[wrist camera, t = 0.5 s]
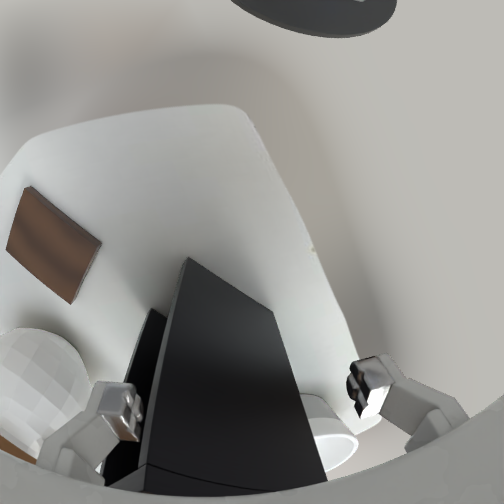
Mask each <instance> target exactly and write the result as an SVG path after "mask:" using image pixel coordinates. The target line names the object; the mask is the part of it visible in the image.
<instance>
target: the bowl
mask: <svg viewBox="0 0 504 504" xmlns="http://www.w3.org/2000/svg"><path fill="white" fill-rule="evenodd" d="M300 396H301V400H302V403H303V406H304V409H305V412H306V415H307V418H308V421H309V424H310V427H311V430H312V433H313V436H314V440H315V443H316V446H317V449H318V452H319V455H320V458H321V461H322V464H323V467H324V470H325V472H327V471H329V470H331V469H333V468H335V467H337V466H339V465H340V464H342V463H343V462H345V461H346V460H347V459H349V458H350V457H351V456H352V455H353V454H354V452H355V451H356V449H357V447H358V439H357V438H356V436H355V435H354V434H353V433H352V432H351V431H350V430H349V428H348V427H347V426H346V425H345V424H344V423H343V422H342V421H341V419H340V418H339V417H338V416H337V415H336V414H335V412H334V411H333V410H332V409H331V408H330V407H329V405H328V404H327V403H326V402H325V401H324V400H323V399H322V398H320V397H318V396H315V395H310V394H300Z"/></svg>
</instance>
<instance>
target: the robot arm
mask: <svg viewBox="0 0 504 504" xmlns="http://www.w3.org/2000/svg"><path fill="white" fill-rule="evenodd" d="M355 1H359V2H363V1H365V0H355ZM350 371H351V373H350V375H349V376H348V377H347V381H346V387H347V392H348V395H349V397H350V398H351V399H352V400H354V401H356V402H355V405H354V407H355V409H356V411H357V414H358V416H359V418H360V419H361V418H365V417H368V416H372V415H375V414H378V413H379V414H380V415H381V416H382V417H384V418H385V419H387V420H388V421H390V422H391V423H393V424H394V425H396V426H397V427H399V428H400V429H402V430H403V431H405V432H406V433H408V434H409V435H411V438H410V439H409V441H408V442H407V443H406V445H405V450H406V452H407V454H404V455H402V456H400V457H398V458H395V459H393V460H390V461H388V462H386V463H383V464H380V465H378V466H375V467H372V468H369V469H367V470H364V471H361V472H358V473H355V474H351V475H348V476H345V477H341V478H338V479H334V480H331V481H327V482H323V483H319V484H314V485H310V486H305V487H300V488H295V489H290V490H284V491H277V492H270V493H262V494H253V495H242V496H225V497H183V496H167V495H156V494H147V493H139V492H132V491H126V490H120V489H115V488H110V487H105V486H104V483H105V479H104V478H103V477H102V476H101V475H100V474H99V473H98V472H96V471H95V469H96V468H97V467H98V465H99V464H100V463H101V462H102V461H103V460H104V459H105V458H106V456H107V455H108V454H109V453H110V452H111V451H112V449H113V448H114V447H115V446H116V445H117V444H118V443H119V440H124V441H136V442H139V440H140V434H141V429H142V428H141V427H140V425H139V423H140V422H141V421H142V420H143V417H144V405H143V401H142V399H141V397H140V396H138V395H137V394H136V391H137V389H136V387H135V385H134V384H131V383H118V382H105V381H97V382H96V383H95V385H94V387H93V390H92V393H91V395H90V398H89V400H88V403H87V406H86V409H85V411H81V412H80V413H78V414H77V415H76V416H75V417H73V418H72V419H71V420H69V421H68V422H67V423H66V424H64V425H63V426H62V427H61V428H59V429H58V430H57V431H55V432H54V433H53V434H52V435H50V436H49V437H48V438H46V439H45V440H44V442H43V444H42V447H41V450H40V453H39V455H38V458H37V461H36V464H35V465H34V464H31V463H29V462H26V461H24V460H22V459H20V458H17V457H15V456H13V455H11V454H9V453H7V452H5V451H3V450H1V449H0V504H504V395H503V396H501V397H500V398H499V399H497V400H496V401H495V402H493V403H492V404H491V405H489V406H488V407H487V408H485V409H484V410H482V411H481V412H479V413H478V414H476V415H475V416H474V417H472V418H471V419H470V418H469V417H468V415H467V414H466V413H465V411H464V410H463V408H462V407H461V406H460V404H459V403H458V402H457V400H456V399H455V398H453V397H451V396H449V395H446V394H444V393H442V392H440V391H437V390H435V389H433V388H430V387H428V386H426V385H424V384H421V383H419V382H417V381H415V380H413V379H410V378H409V379H406V377H405V376H404V374H403V373H402V372H401V370H400V369H399V367H398V366H397V365H396V363H395V362H394V360H393V359H392V358H391V356H390V355H389V354H388V353H384V354H381V355H377V356H373V357H369V358H365V359H361V360H357V361H353V362H352V363H351V365H350Z"/></svg>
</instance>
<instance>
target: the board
mask: <svg viewBox="0 0 504 504" xmlns="http://www.w3.org/2000/svg"><path fill="white" fill-rule="evenodd" d="M101 244H102V243H101V242H100V241H99V240H97V239H96V238H95V237H93V236H92V235H91V234H89V233H88V232H87V231H85V230H84V229H83V228H81V227H80V226H79V225H78V224H76V223H75V222H74V221H72V220H71V219H70V218H69V217H67V216H66V215H65V214H64V213H62V212H61V211H60V210H59V209H57V208H56V207H55V206H54V205H53V204H51V203H50V202H49V201H48V200H47V199H45V198H44V197H43V196H42V195H41V194H40V193H38V192H37V191H36V190H35V189H34V188H33V187H31V186H30V187H26V188H24V191H23V194H22V196H21V199H20V202H19V205H18V208H17V211H16V214H15V217H14V221H13V224H12V228H11V231H10V235H9V238H8V242H7V246H6V251H7V252H8V253H9V254H10V255H12V256H13V257H14V258H15V259H16V260H17V261H18V262H19V263H20V264H21V265H22V266H24V267H25V268H26V269H27V270H28V271H29V272H30V273H31V274H33V275H34V276H35V277H36V278H37V279H39V280H40V281H41V282H42V283H43V284H45V285H46V286H47V287H48V288H50V289H51V290H52V291H53V292H55V293H56V294H57V295H58V296H60V297H61V298H62V299H64V300H65V301H66V302H68V303H69V304H70V305H71V304H72V303H73V301H74V300H75V298H76V296H77V294H78V291H79V289H80V287H81V285H82V283H83V280H84V278H85V276H86V274H87V272H88V270H89V268H90V266H91V264H92V262H93V260H94V258H95V256H96V254H97V252H98V250H99V248H100V246H101Z"/></svg>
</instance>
